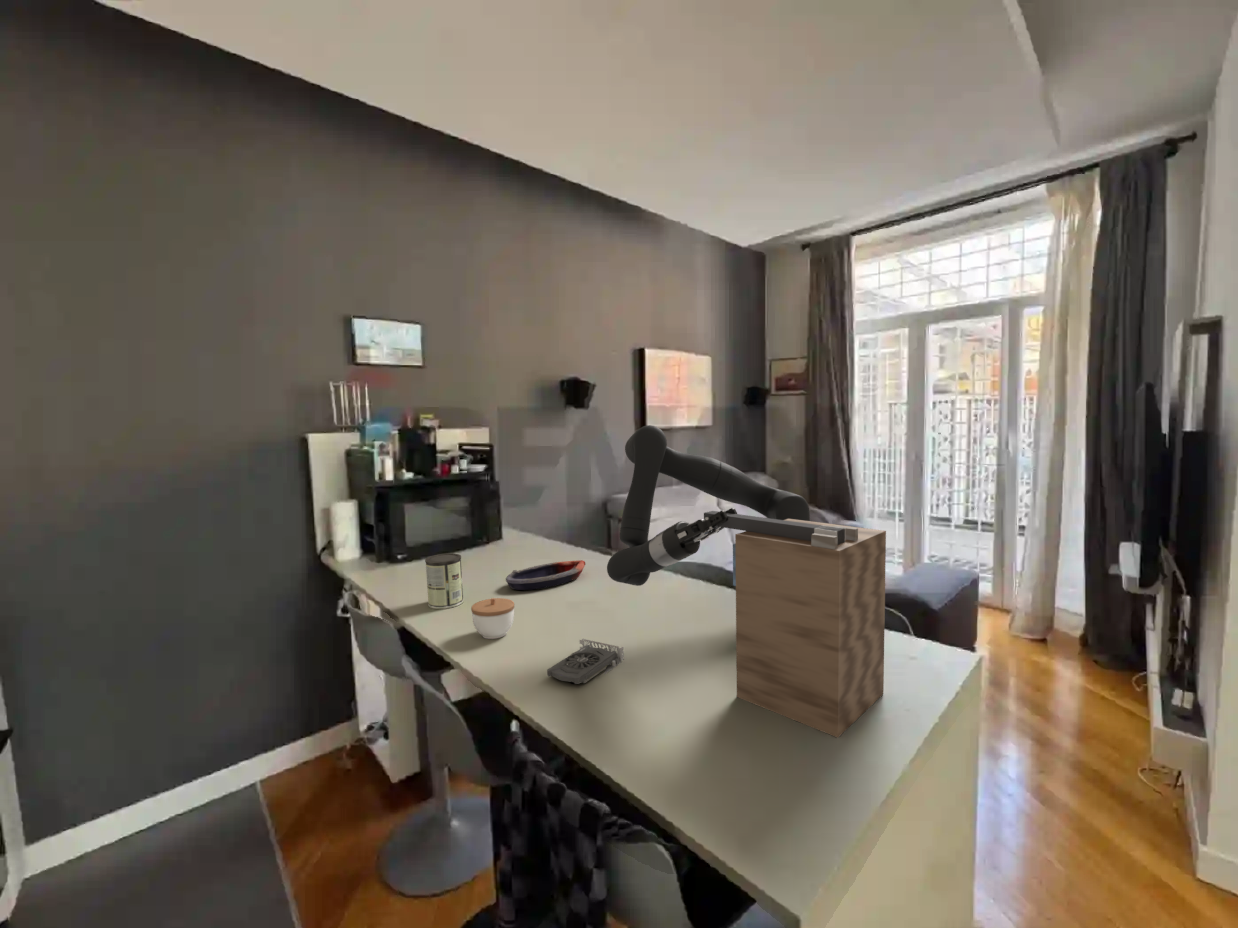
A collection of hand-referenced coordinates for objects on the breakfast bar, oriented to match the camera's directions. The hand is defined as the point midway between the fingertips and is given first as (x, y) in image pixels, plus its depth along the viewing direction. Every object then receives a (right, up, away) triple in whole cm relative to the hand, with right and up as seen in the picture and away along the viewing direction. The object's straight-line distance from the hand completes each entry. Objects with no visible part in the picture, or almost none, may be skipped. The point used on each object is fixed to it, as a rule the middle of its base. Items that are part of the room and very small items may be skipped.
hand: (730, 513), depth 111 cm
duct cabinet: (+15, -35, -4) cm, 38 cm away
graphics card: (-31, -36, +11) cm, 48 cm away
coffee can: (-75, -32, +56) cm, 99 cm away
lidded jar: (-54, -34, +31) cm, 71 cm away
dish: (-46, -30, +75) cm, 93 cm away
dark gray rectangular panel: (+6, -3, -6) cm, 9 cm away
